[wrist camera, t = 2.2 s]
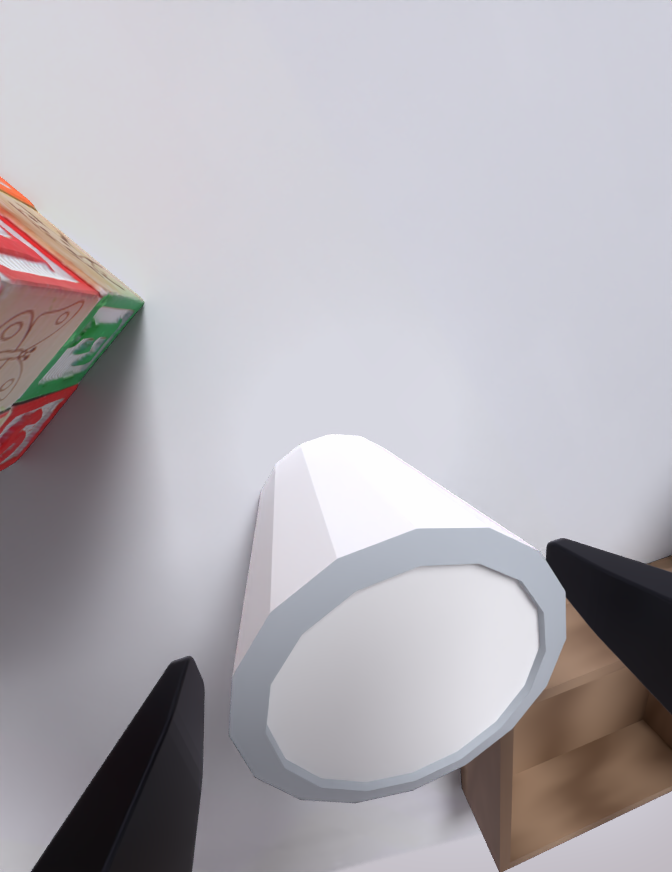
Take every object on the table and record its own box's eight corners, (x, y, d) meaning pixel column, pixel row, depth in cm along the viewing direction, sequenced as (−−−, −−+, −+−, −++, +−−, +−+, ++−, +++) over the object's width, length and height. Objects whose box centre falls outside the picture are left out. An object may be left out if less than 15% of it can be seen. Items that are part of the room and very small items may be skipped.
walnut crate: (674, 554, 19) (764, 603, 15) (639, 712, 23) (702, 776, 20) (452, 631, 16) (500, 707, 13) (462, 788, 21) (499, 873, 18)
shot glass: (298, 608, 14) (336, 854, 8) (200, 478, 11) (132, 682, 5) (442, 525, 14) (597, 692, 8) (379, 381, 12) (532, 453, 5)
